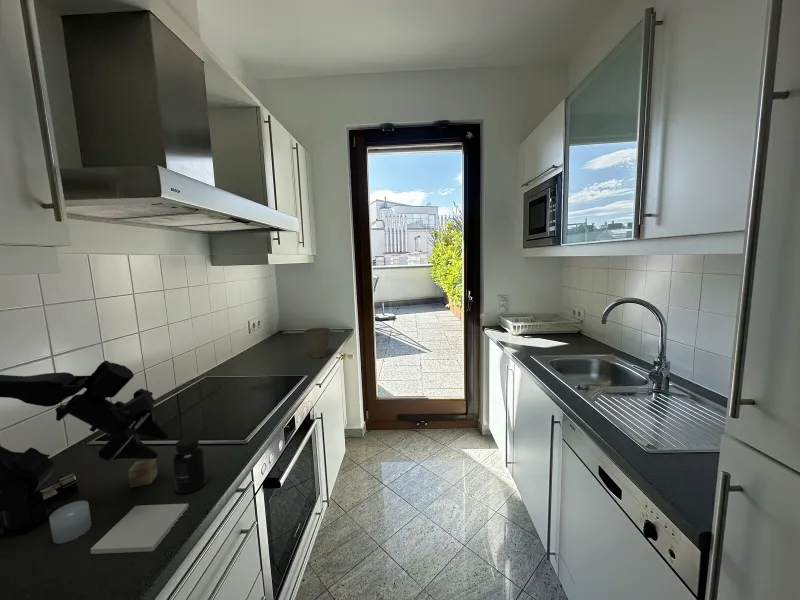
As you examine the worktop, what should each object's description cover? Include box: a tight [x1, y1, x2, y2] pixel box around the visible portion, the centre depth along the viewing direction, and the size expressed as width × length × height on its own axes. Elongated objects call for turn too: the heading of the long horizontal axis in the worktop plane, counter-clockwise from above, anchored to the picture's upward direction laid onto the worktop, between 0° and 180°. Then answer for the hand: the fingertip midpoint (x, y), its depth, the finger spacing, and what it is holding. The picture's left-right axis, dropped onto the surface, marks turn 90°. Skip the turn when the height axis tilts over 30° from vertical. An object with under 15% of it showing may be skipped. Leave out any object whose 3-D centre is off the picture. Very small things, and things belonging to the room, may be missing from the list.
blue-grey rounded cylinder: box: [48, 500, 92, 545], centre depth 73 cm, size 6×6×5 cm
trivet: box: [90, 503, 190, 555], centre depth 74 cm, size 12×12×1 cm
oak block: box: [127, 457, 158, 488], centre depth 90 cm, size 4×4×4 cm
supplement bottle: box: [172, 436, 207, 495], centre depth 87 cm, size 7×7×12 cm
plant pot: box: [303, 327, 331, 359], centre depth 200 cm, size 15×15×16 cm
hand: (162, 446), depth 84 cm, fingers open, 9 cm apart
